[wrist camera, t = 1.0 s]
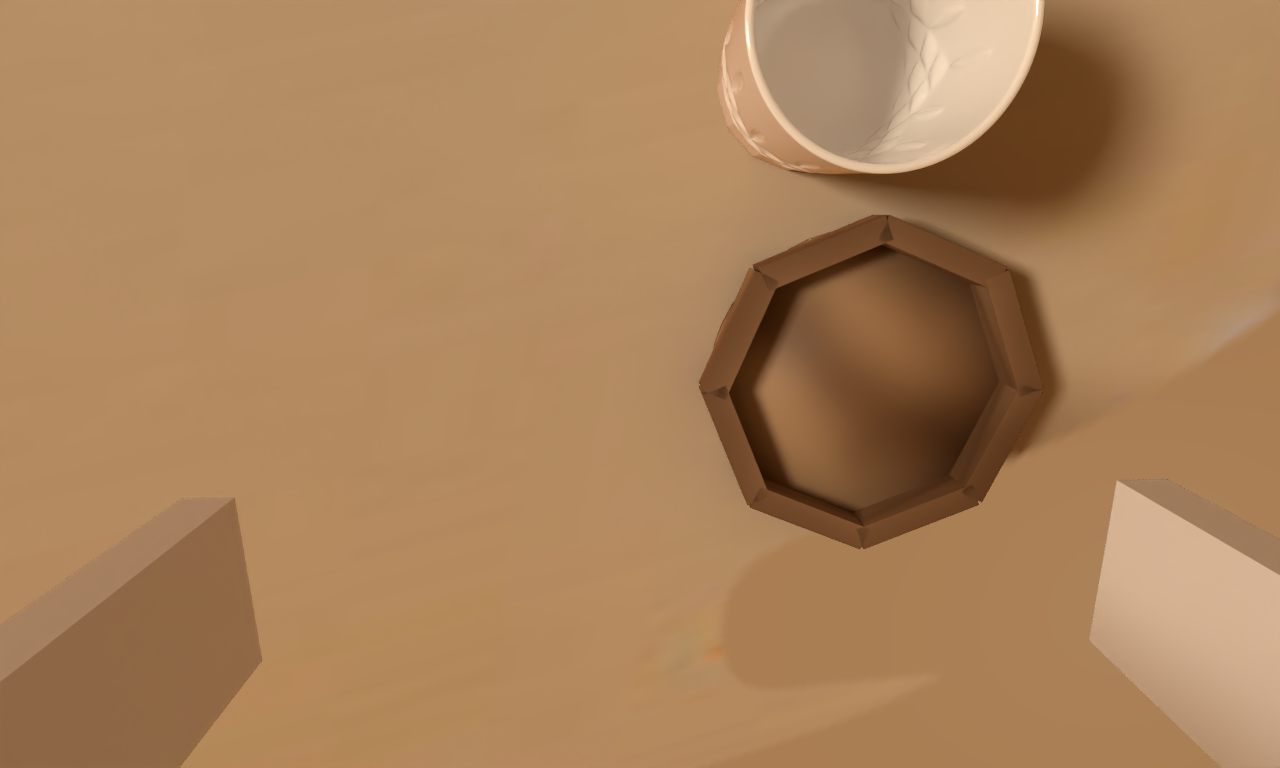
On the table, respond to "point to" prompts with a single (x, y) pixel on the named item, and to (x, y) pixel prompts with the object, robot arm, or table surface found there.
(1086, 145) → the table surface
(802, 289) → the coaster ring
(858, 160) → the white cup
